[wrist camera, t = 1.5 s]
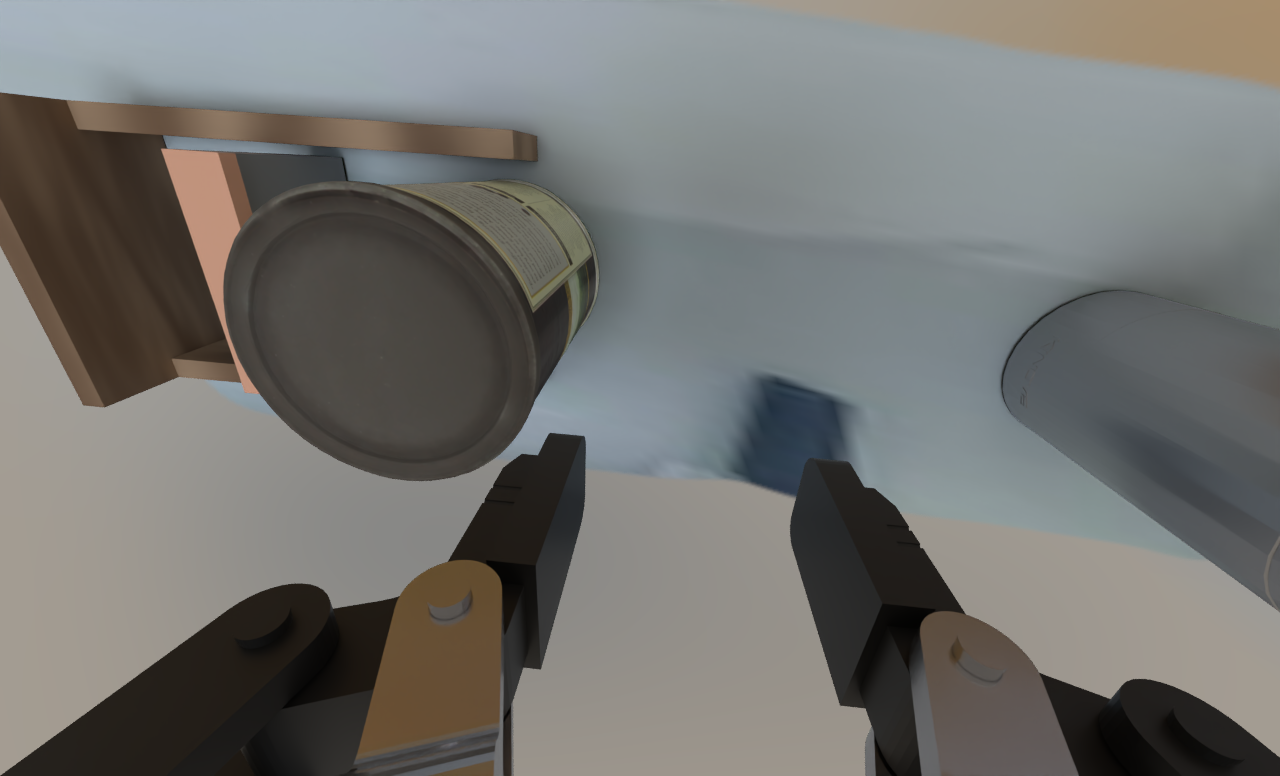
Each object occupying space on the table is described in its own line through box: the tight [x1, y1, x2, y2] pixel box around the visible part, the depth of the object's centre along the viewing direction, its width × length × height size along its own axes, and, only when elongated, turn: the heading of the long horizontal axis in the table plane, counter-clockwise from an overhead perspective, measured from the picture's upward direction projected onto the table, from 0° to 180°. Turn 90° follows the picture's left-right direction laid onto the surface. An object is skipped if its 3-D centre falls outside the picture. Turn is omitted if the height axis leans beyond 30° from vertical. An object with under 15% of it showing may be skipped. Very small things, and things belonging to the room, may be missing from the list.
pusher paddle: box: [161, 149, 346, 394], centre depth 24 cm, size 2×11×8 cm, turn 177°
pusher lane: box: [0, 93, 538, 407], centre depth 24 cm, size 23×14×8 cm, turn 87°
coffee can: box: [223, 179, 599, 481], centre depth 21 cm, size 10×10×14 cm
